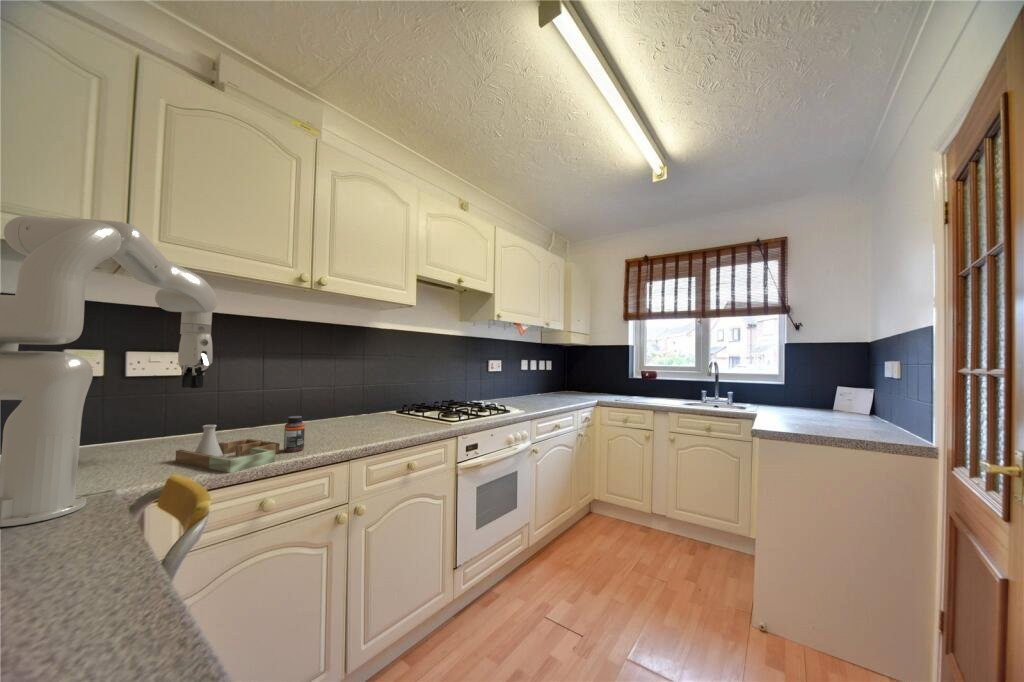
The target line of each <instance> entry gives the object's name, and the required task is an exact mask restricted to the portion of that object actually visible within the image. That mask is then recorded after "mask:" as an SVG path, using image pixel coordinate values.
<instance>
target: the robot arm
mask: <svg viewBox="0 0 1024 682" xmlns="http://www.w3.org/2000/svg"><path fill="white" fill-rule="evenodd" d="M3 237H4V240H5V242H6V243H7V244H8V245H9V247H11V249H13V250H14V251H15V252H18V253H19V254H21V255H25V256H26V257H25V258H24V260H23V261H22V262H21V264H20V266H19V269H18V274H17V275H18V276H17V284H16V292H15V295H13V294H10V295H9V294H0V401H21V402H20V403H19V404H18V406H16V407H15V409H14V410H13V411H12V412H11V413H10V414H9V416H8V417H7V419H6V421H5V423H4V426H3V430H2V446H1V454H0V455H1V456H0V528H3V527H5V528H6V527H14V526H15V527H16V526H23V525H27V524H32V523H34V524H35V523H38V522H42V521H43V522H44V521H47V520H52V519H55V518H59V517H62V516H65V515H68V514H71V513H74V512H76V511H79V510H81V509H82V508H84V507H85V506H86V504H87V498H86V497H85V496H80V495H76V493H77V478H78V466H79V454H80V444H81V441H80V440H81V430H82V419H83V411H84V406H85V401H86V397H87V395H88V392H89V389H90V386H91V384H92V381H93V376H94V370H93V367H92V364H91V363H90V362H89V361H88V360H87V359H86V358H84V357H82V356H80V355H78V354H74V353H70V352H64V351H48V350H47V351H44V350H42V351H41V350H37V351H36V350H25V351H24V350H20V351H19V345H64V344H70V343H72V342H74V341H77V340H78V339H79V338H80V336H81V335H82V332H83V330H84V323H85V321H84V319H85V300H86V299H85V297H86V295H85V294H86V285H87V279H88V276H89V275H90V273H91V271H92V270H94V268H95V267H97V266H98V265H99V264H100V263H102V262H103V261H106V260H108V259H110V258H112V259H113V260H114V261H115V262H117V263H118V265H120V266H121V267H122V269H124V270H125V271H127V272H128V273H129V274H130V276H132V277H133V278H134V279H135V280H137V281H138V282H140V283H143V284H146V285H150V286H153V287H156V288H160V289H158V290H157V291H156V293H155V295H154V300H155V303H156V305H157V306H158V308H161V309H163V310H164V311H166V312H173V313H181V314H180V315H181V318H180V328H179V329H180V332H179V334H180V335H181V336H180V341H179V347H178V357H177V358H178V359H177V360H178V361H177V362H178V366H179V368H181V375H182V381H181V387H182V389H183V388H184V389H185V388H189V389H202V388H203V387H204V375H205V374H206V373H205V371H206V370H207V369H208V368H209V366H211V365H213V364H212V363H213V340H212V322H213V311H214V310H216V308H217V306H218V296H217V294H216V292H215V291H214V289H213V287H211V286H210V284H209V283H208V282H207V281H206V280H205V278H203V277H201V276H200V275H198V274H197V273H194V272H193V271H190V270H189V269H186V268H185V267H183V266H180V265H178V264H176V263H174V262H171V261H169V260H168V259H167V258H166V257H165V255H163V254H162V252H161V251H160V250H159V249H158V248H157V247H156V246H155V245H154V244H153V243H152V242H151V241H150V240H149V238H148V236H146V235H145V234H144V233H143V232H142V231H141V230H140V229H139V228H138V227H137V226H135V225H133V224H130V223H128V222H124V221H123V222H122V221H116V220H114V221H113V220H105V219H92V218H91V219H90V218H72V217H65V218H64V217H51V216H48V217H47V216H35V215H34V216H33V215H21V216H16V217H13V218H12V219H10V220H9V221H8V222H7V223H6V224H5V226H4V228H3Z"/></svg>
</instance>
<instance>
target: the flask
mask: <svg viewBox="0 0 1024 682" xmlns="http://www.w3.org/2000/svg"><path fill="white" fill-rule="evenodd" d="M216 427H218V426H217V424H205V425H202V429H203V433H202V436H201V439H200V441H199V443H198V445H197V447H196V449H195V451H194V452H196V453H202V454H207V455H213V456H218V457H224V454H222V451H221V449H220V447H219V444H218V443H219V442H218V439H217V434H216Z"/></svg>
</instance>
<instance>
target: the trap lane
mask: <svg viewBox="0 0 1024 682" xmlns="http://www.w3.org/2000/svg"><path fill="white" fill-rule="evenodd" d="M218 444H219V447H220V449H221V451H222V454H223V455H226V454H230V453H235V457H236V458H229V457H224V456H222V457H218V456H213V455H207V454H202V453H196V452H195V451H190V450H184V449H178V450H177V449H176V450H175V458H174V459H175V463H179V464H186V465H191V466H195V467H199V468H205V469H211V470H215V471H219V472H224V473H230V474H231V473H235V472H238V471H242V470H247V469H251V468H255V467H260V466H263V465H266V464H270V463H273V462H275V460H276V458H275V457H276V455H277V454H280V442H274V441H268V440H267V441H266V440H259V439H252V438H245V439H241V440H235V441H228V442H218Z"/></svg>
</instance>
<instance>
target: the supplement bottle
mask: <svg viewBox="0 0 1024 682" xmlns="http://www.w3.org/2000/svg"><path fill="white" fill-rule="evenodd" d="M305 428H306V423H304V422H303V416H301V415H292V416H288V419H287V423H285V425H284V435H283V436H284V437H283V452H285V453H297V452H301V451H302V450H304V449H305V434H306V433H305V430H306V429H305Z"/></svg>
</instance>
